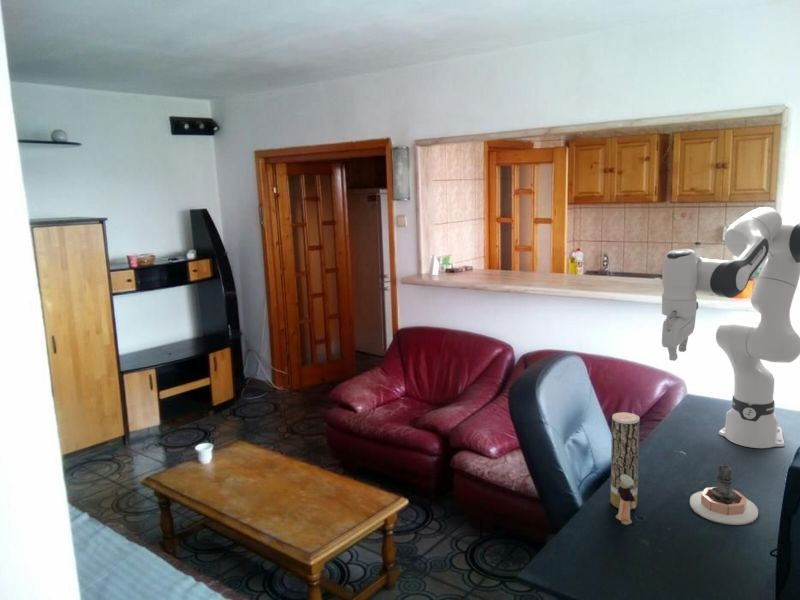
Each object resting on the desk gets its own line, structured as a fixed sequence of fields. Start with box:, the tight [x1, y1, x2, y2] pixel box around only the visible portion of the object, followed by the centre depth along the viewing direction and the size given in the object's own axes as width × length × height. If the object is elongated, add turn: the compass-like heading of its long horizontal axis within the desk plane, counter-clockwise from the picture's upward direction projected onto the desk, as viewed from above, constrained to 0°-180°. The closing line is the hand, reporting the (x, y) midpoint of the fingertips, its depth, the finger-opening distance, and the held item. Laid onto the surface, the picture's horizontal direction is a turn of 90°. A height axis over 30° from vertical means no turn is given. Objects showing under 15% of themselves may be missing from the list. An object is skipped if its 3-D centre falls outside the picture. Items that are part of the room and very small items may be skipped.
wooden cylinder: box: [610, 411, 640, 510], centre depth 167 cm, size 7×7×25 cm
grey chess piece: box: [711, 462, 737, 504], centre depth 164 cm, size 6×6×12 cm
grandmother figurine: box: [615, 474, 637, 526], centre depth 160 cm, size 8×4×13 cm, turn 23°
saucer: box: [689, 486, 759, 526], centre depth 165 cm, size 16×16×4 cm
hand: (677, 355), depth 178 cm, fingers open, 8 cm apart
